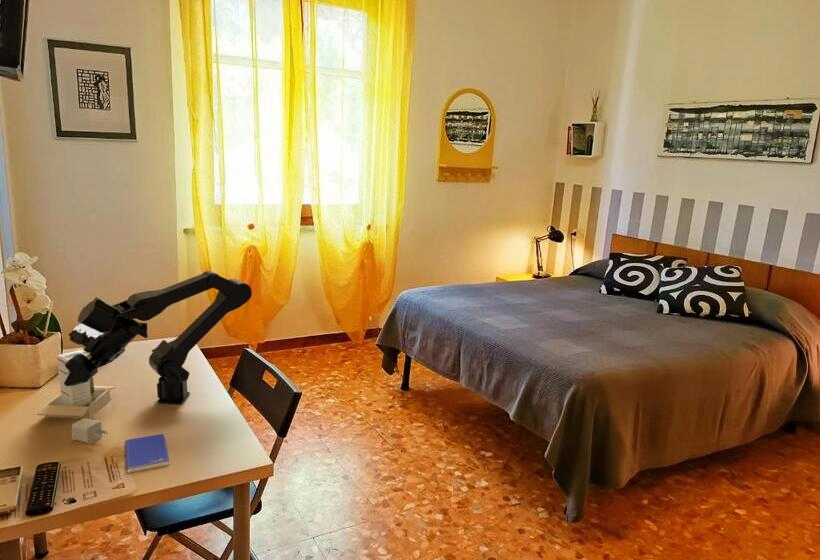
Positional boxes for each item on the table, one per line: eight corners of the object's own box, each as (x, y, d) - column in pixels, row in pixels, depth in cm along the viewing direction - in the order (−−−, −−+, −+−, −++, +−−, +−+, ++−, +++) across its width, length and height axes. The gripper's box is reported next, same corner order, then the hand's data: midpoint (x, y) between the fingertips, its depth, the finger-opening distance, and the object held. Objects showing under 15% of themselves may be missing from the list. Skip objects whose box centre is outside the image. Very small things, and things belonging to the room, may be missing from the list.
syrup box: (72, 415, 138) (66, 360, 135) (61, 408, 142) (56, 354, 138) (96, 408, 143) (91, 354, 139) (85, 401, 146) (80, 348, 143)
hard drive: (169, 460, 120) (164, 433, 131) (126, 468, 116) (124, 439, 127) (169, 466, 121) (164, 439, 131) (127, 474, 117) (125, 446, 127)
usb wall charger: (88, 432, 131) (86, 416, 130) (111, 438, 129) (110, 422, 128) (72, 440, 128) (71, 424, 127) (96, 447, 125) (95, 430, 125)
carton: (115, 394, 151) (115, 383, 150) (83, 424, 135) (82, 412, 134) (75, 393, 150) (74, 382, 149) (37, 423, 134) (36, 410, 133)
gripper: (109, 304, 146) (69, 342, 148) (70, 327, 128) (25, 370, 130) (142, 334, 148) (102, 372, 150) (108, 360, 130) (63, 403, 132)
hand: (74, 378), depth 140 cm, fingers closed on syrup box, 8 cm apart
